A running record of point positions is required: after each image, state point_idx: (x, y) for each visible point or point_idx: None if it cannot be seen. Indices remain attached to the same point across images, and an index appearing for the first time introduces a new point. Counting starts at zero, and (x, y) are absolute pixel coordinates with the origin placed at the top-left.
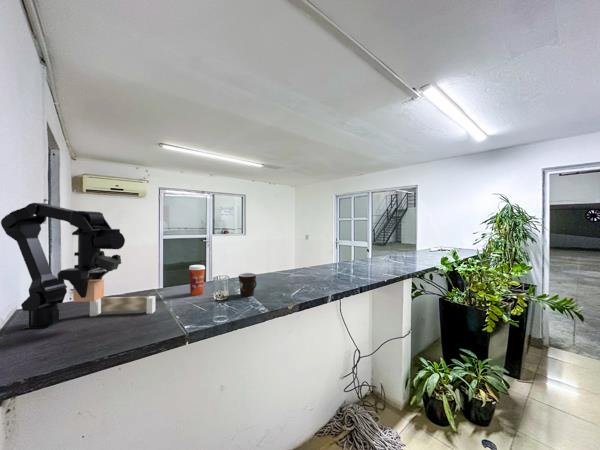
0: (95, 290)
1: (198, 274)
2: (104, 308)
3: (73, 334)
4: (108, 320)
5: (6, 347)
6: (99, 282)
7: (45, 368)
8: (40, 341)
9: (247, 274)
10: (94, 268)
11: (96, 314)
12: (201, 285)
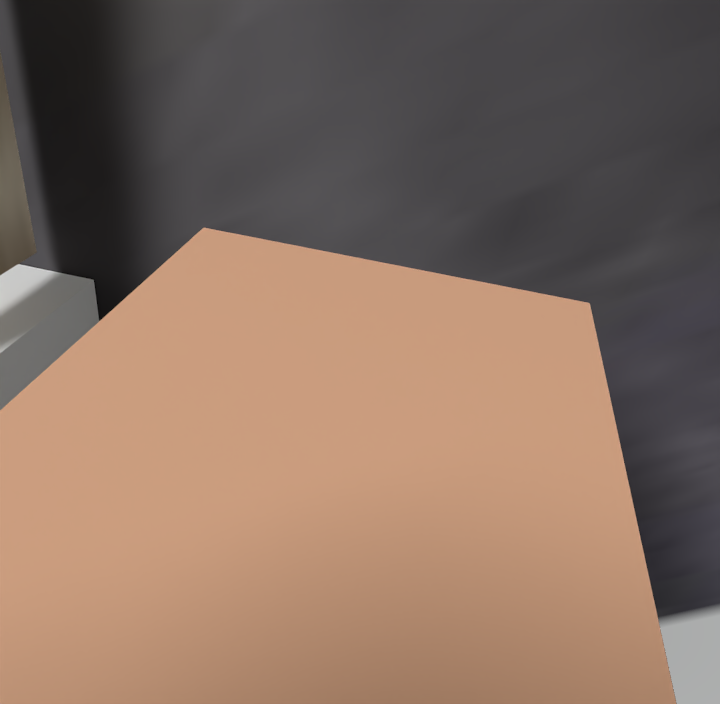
0: (567, 483)
1: None
2: (4, 233)
3: (602, 294)
4: (244, 76)
5: (668, 613)
6: (217, 673)
7: None
8: (657, 480)
9: None
10: None
11: (75, 281)
12: None
